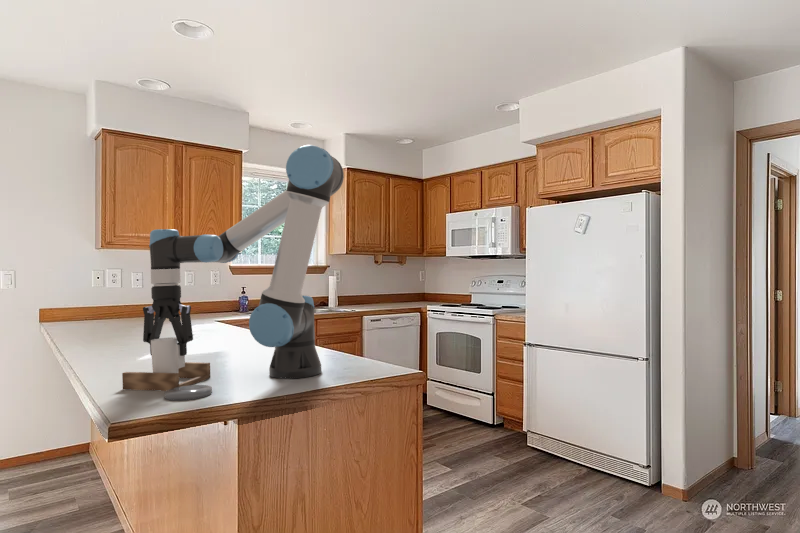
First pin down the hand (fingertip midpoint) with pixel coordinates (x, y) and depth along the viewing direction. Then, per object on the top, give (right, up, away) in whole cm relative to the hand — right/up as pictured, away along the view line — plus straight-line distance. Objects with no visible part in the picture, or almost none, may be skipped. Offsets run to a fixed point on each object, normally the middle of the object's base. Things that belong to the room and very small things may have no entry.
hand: (169, 367), depth 142 cm
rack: (0, -5, 0) cm, 5 cm away
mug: (0, -4, 0) cm, 4 cm away
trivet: (+11, -4, -14) cm, 18 cm away
